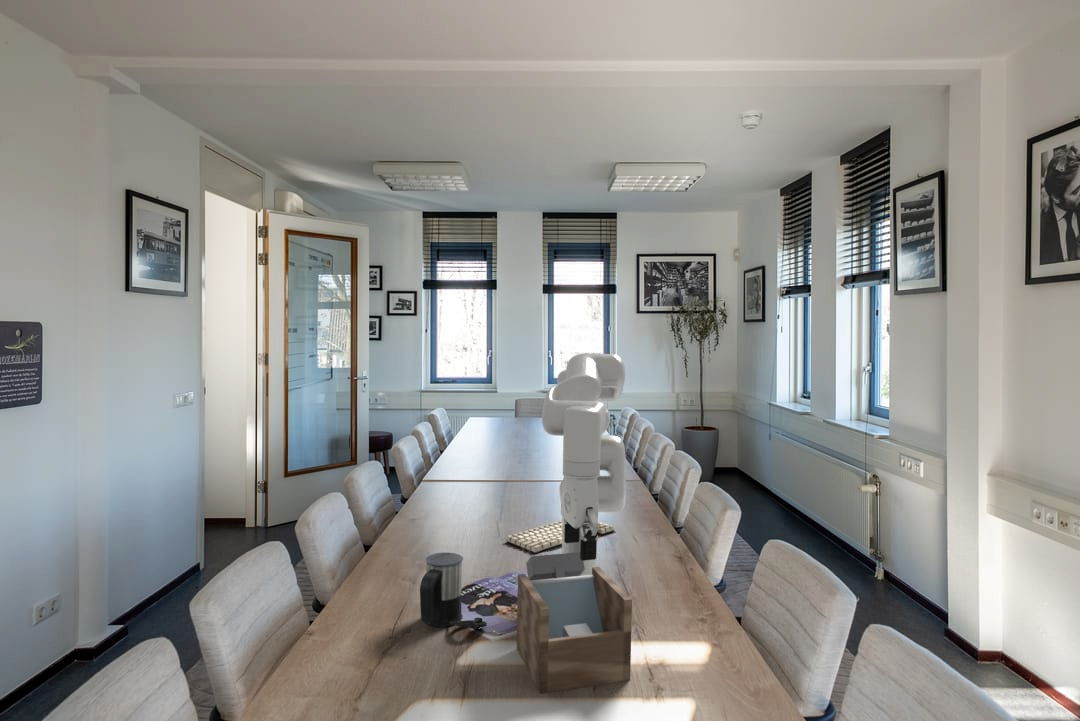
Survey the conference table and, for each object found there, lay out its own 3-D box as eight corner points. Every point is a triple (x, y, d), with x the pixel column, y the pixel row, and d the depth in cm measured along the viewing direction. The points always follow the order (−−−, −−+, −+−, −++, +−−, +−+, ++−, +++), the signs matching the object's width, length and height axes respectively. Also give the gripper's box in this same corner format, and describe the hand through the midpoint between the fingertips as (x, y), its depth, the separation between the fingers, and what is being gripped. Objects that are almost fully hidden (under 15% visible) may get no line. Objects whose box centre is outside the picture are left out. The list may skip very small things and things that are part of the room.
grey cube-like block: (563, 625, 129) (572, 642, 124) (586, 623, 131) (596, 639, 125) (562, 648, 130) (571, 665, 124) (584, 645, 131) (595, 662, 126)
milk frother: (428, 609, 157) (429, 551, 156) (491, 611, 156) (492, 553, 156) (415, 637, 143) (415, 572, 142) (484, 639, 142) (485, 575, 141)
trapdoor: (520, 563, 144) (526, 555, 139) (581, 558, 148) (588, 549, 143) (533, 658, 133) (539, 652, 128) (598, 649, 137) (607, 644, 133)
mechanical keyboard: (541, 559, 195) (541, 548, 194) (500, 544, 208) (500, 534, 208) (617, 534, 221) (617, 524, 221) (577, 522, 235) (577, 513, 235)
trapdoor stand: (516, 648, 138) (517, 574, 138) (597, 637, 144) (598, 566, 143) (539, 693, 121) (541, 609, 120) (630, 679, 126) (632, 599, 126)
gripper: (550, 459, 134) (549, 537, 135) (578, 479, 117) (576, 568, 119) (583, 457, 136) (582, 535, 137) (615, 477, 120) (613, 565, 121)
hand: (579, 550), depth 128 cm, fingers open, 9 cm apart
